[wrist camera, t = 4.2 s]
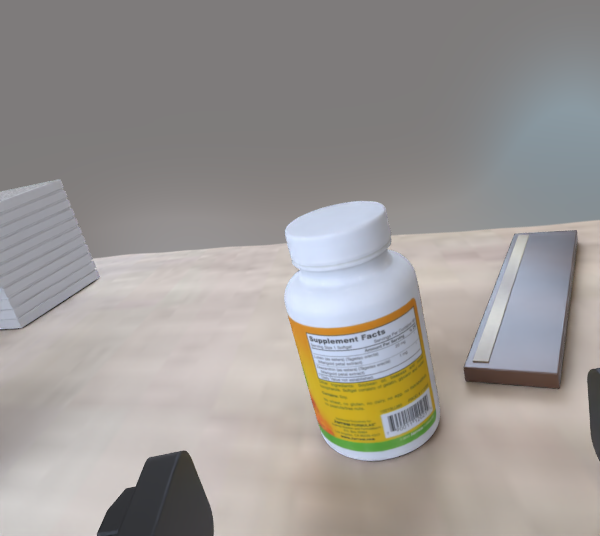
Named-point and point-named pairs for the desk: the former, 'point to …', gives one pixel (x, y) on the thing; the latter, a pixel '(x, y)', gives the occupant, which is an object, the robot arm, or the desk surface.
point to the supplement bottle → (360, 332)
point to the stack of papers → (39, 253)
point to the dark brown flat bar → (527, 314)
